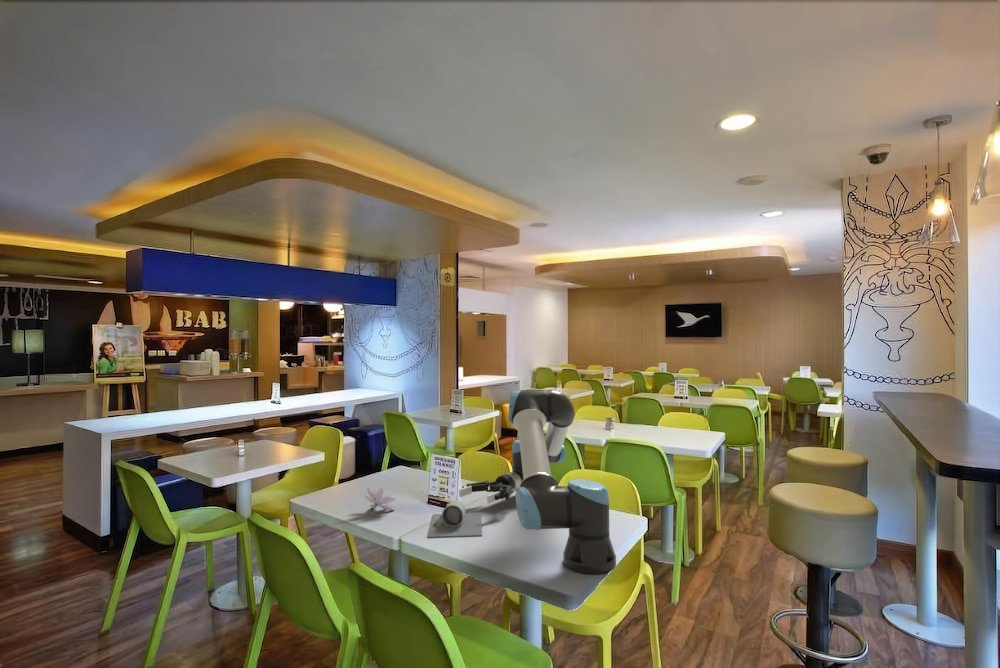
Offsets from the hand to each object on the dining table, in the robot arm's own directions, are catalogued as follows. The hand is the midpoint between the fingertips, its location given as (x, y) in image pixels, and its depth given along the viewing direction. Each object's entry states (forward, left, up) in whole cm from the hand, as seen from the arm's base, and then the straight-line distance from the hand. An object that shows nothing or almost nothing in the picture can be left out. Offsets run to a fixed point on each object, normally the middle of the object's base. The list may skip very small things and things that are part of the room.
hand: (473, 496), depth 187 cm
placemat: (-7, +6, -8) cm, 12 cm away
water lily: (+9, +36, -8) cm, 38 cm away
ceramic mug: (-7, +8, -7) cm, 13 cm away
